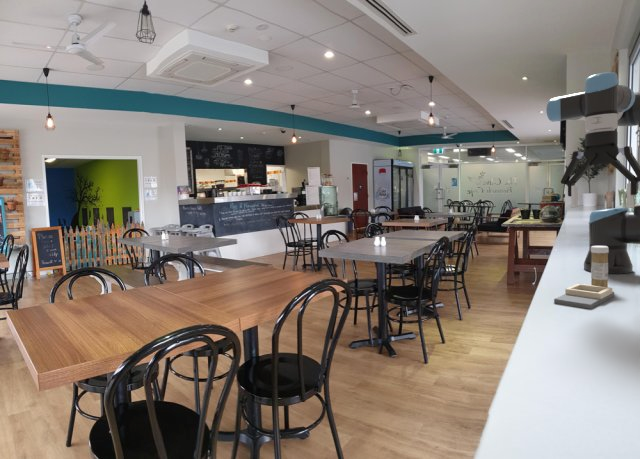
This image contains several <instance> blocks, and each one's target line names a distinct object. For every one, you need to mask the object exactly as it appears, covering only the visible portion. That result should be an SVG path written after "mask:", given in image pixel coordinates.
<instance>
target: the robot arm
mask: <svg viewBox="0 0 640 459" xmlns="http://www.w3.org/2000/svg"><path fill="white" fill-rule="evenodd" d="M546 116H547V118H548V120H549V121H550V122H562V121H569V120H570V121H584V124H585V125H584V127H585V128H584V129H585V132H586V134H585V136H584V146H585V147H584V148H585V149H584V151H573V152H572V157H571V160H570V162H569V164H568V165H567V168H566V170H565V172H564V174H563V176H562V177H561V180H560V183H561V184H562V185H566V186H567V196H568V197H571V198H570V199H571V204H570V205H571V209H576V208H578V207H579V202H578V201H579V196H578V195H579V191H578V190H579V189H578V187H579V186H578V185H576V183H578V181H579V180H580V179H581V178H582V177H583V176H584V174H585V173H586V172H587V171H588V170H589V168H591V167H592V166H601V165H602V166H607V165H608V166H609V165H610V164H611V166H613V167H614V168H615V169H616V170H617V171H618V172H620V174H621V175H623V177H624V178H626V179H627V180H628V182H627V183H626V206H625V207H615V208H607V209H599V210H593V211H592V212H590V214H589V222H588V229H589V230H588V231H589V232H588V235H589V236H588V237H589V240H588V242H589V243H588V245H589V246H588V247H589V248H588V252H587V253H586V257H585V258H584V259H585V260H584V262H583V270H585V271H588V272H591V260H592V259H591V258H592V254H591V253H592V252H591V246H607V247H608V248H609V252H608V274H615V275H616V274H619V275H620V274H628V273H629V272H630V273H633V267H634V266H633V263H632V260H631V257H630V255H629V253H628V244H631V245H632V244H633V245H640V200H639V201H638V202H637V203H635V205H634V196H635V195H638V193H639V183H640V164H639V162H638V160H636V157H635V156H634V154H633V147H632V146H629V145H628V146H627V145H626V146H624V147H619V146H618V140H619V139H618V133H619V132H618V131H617V130H616V129H618V127H635V126H638V131H640V91H636V92H634V90H633V89H632V88H629V87H628V86H626V85H623V84H622V85H621V84H620V83H619V79H618V74H617V73H616V72H613V71H610V72H609V71H608V72H601V73H600V72H599V73H597V74H592V75H590V76H588V77H587V78H586V79H585V83H584V91H583V92H576V93H572V94H567V95H562V96H560V95H559V96H556V97H553V98H550V99H549V100H548V102H547V103H546ZM620 153H621V155H623V156H624V157H625V159H626V160H627V162H628V164H629V165H630V167H631V169H632V170H633V172H634V174H635V175H634V174H633V173H632V172H631V171H630V170H629V169H628V168H627V167H626V166H624V165H623V163H622V162H621V161H620V160H619V159H618V158H617V156H618V155H619V154H620ZM583 157H584V158H585V159H586V160H585V162H584V163H583V164H582V165H581V167H580V168H578V170H577V171H576V172H575V170H576V168H577V166H578V164H579V162H580V160H581V159H582V158H583ZM574 172H575V174H574V175H573V173H574ZM628 208H633V210H629V209H628Z"/></svg>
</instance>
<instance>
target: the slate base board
mask: <svg viewBox="0 0 640 459" xmlns="http://www.w3.org/2000/svg"><path fill="white" fill-rule="evenodd" d="M564 291H565V293H564V294H562V295H560V296H557V297H555V298H553V303H554V304H556V305H557V304H558V305H564V306H569V307H576V308H581V309H587V310H591V309H593V308H595V307H597V306H599V305H601V304H602V303H604V302H606V301H608V300H610V299H612V298H614V296H615V292H614V291H613V287H601V286H593V285H591V284H584V283H583V284H582V283H576V284H574V285H572V286H569V287H567V288H565V290H564Z"/></svg>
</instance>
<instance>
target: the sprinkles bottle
mask: <svg viewBox="0 0 640 459" xmlns="http://www.w3.org/2000/svg"><path fill="white" fill-rule="evenodd" d="M591 252H592V253H591V254H592V258H591V259H592V260H591V271H590V278H591V279H590V280H591V281H590V285H593V286H601V287H608V284H609V282H608V281H609V280H608V279H609V273H608V252H609V248H608V247H607V246H591Z"/></svg>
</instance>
